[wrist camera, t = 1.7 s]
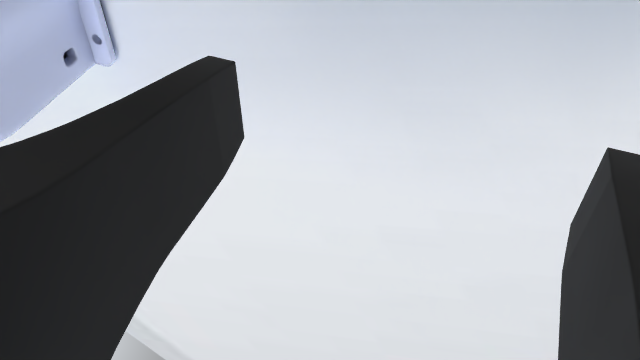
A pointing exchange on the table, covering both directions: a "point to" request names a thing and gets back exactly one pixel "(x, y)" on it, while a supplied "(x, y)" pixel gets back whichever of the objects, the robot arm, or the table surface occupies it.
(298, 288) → the table surface
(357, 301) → the table surface
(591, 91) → the table surface
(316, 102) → the table surface
